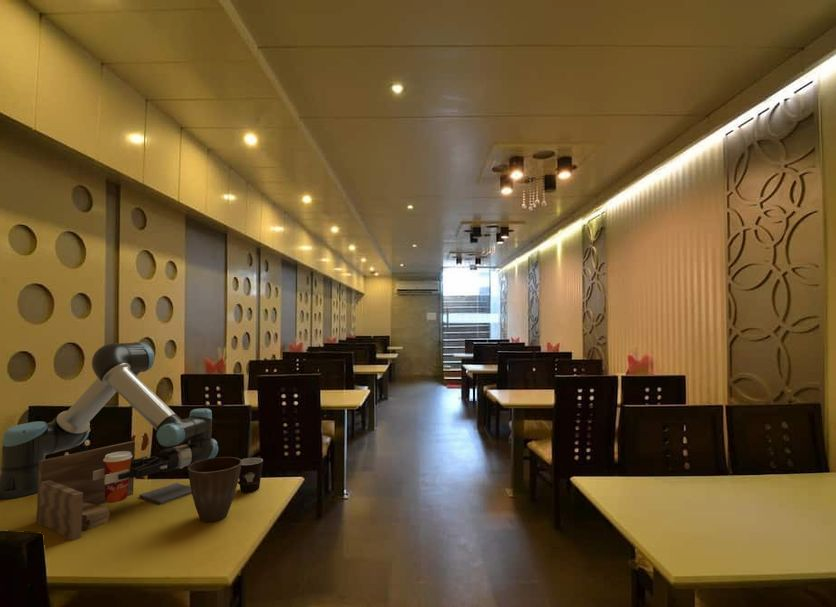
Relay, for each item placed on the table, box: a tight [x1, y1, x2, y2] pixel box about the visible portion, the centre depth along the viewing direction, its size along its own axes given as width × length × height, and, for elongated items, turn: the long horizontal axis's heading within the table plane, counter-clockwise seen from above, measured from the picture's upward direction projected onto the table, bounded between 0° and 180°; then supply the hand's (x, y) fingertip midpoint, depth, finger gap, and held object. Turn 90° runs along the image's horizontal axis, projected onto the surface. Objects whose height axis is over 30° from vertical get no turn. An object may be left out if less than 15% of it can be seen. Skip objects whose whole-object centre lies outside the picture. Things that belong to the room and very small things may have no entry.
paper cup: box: [103, 451, 133, 504], centre depth 134 cm, size 8×8×14 cm
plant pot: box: [187, 456, 242, 523], centre depth 130 cm, size 15×15×16 cm
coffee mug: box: [237, 457, 264, 493], centre depth 153 cm, size 12×9×10 cm
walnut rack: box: [36, 440, 136, 541], centre depth 133 cm, size 24×26×18 cm
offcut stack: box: [81, 502, 111, 531], centre depth 126 cm, size 12×7×4 cm, turn 73°
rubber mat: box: [138, 482, 192, 505], centre depth 148 cm, size 13×13×1 cm
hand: (99, 477), depth 130 cm, fingers closed on paper cup, 6 cm apart
